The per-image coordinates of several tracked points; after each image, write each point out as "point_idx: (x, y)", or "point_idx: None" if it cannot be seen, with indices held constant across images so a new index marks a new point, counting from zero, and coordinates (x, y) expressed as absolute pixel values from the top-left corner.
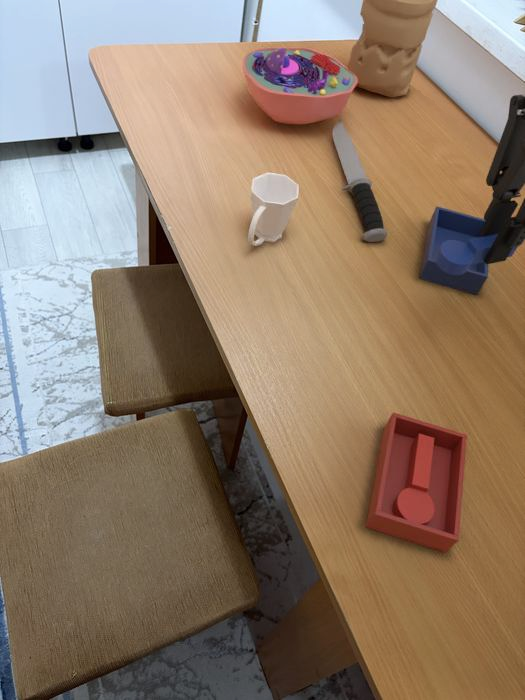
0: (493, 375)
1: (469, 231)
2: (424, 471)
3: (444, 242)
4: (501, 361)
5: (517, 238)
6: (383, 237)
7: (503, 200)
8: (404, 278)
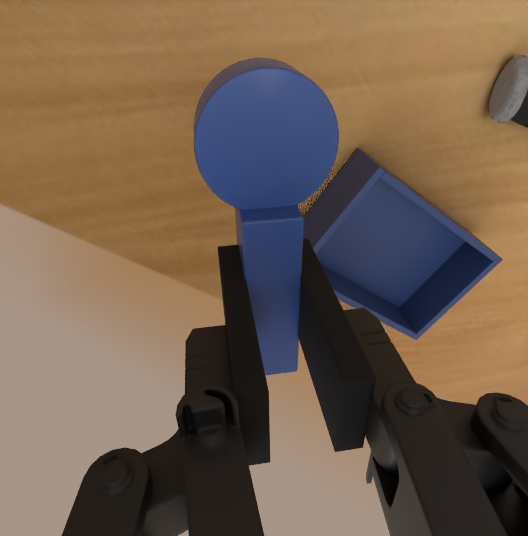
0: (73, 184)
1: (418, 297)
2: None
3: (332, 117)
4: (109, 217)
5: (186, 377)
6: (493, 110)
7: (373, 415)
8: (370, 111)
